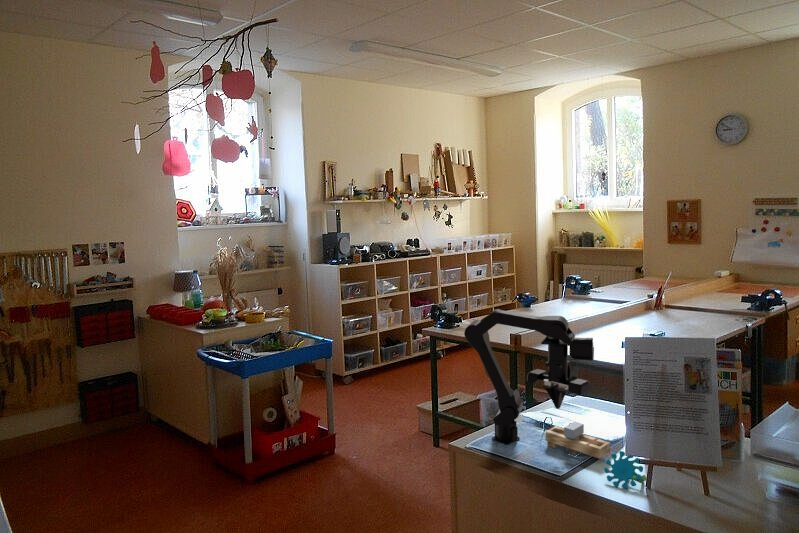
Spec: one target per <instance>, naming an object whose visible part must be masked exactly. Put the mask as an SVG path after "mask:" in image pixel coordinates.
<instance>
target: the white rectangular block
mask: <svg viewBox="0 0 799 533" xmlns="http://www.w3.org/2000/svg"><path fill="white" fill-rule="evenodd" d="M584 426H585V424H583V423H581V422H578V421H573V422H571V423H570V424H568V425H566V426H564V427H563V428H564V436H565V437H568V438H571V439H574V438H575V439H578V440H579V435H581V434H584V432H585V429H584V428H585V427H584Z"/></svg>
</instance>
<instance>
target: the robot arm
mask: <svg viewBox="0 0 799 533" xmlns="http://www.w3.org/2000/svg"><path fill="white" fill-rule="evenodd" d="M496 325H504V326H507V327H508V326H509V327H514V328H520V329H526V330H531V331H535V332H538V333H539V334H541V335H544V336H545V337H544V338H543V339H542V340H541V343H540V344H542V345H547V362H545V367H547V370H544V369H539V368H536V369H534V370H531V371H529V372H528V373H527V375H526V379H527V380H526V381H527V382H528V383H532V384H536V383H537V382H538V381H539V380H540V381H542V382H544V383H543V385H542V388H543V389H545V391H546V393H547V394H548V396H549V397H550V399H551V401H552V403H553V405H554V408H555V409H557V410H559V409H560V408H561V407H562V405H563V404H562V403H563V401H564V398H565V397H566V394H567V393H568V392H570V394H571V393H572V394H575V395H583V394H585V393H587V392H589V391H591V383H590V381H589V380H587V379H582V378H578V375H579V369H580V367H579V366H574V365H571V364H572V363H571V361H570V360H568V359H569V358H568V356H569V357H571V359H572V360H573V361H581V362H582V361H583V362H594V361H595V360H594V359H595V346H594V338H593V337H576V335H575V334H574V332H573V331H572V329H571V328H570V327H569V322H568V320H567V319H566V317H564V316H562V315H545V316H544V315H543V316H536V315H530V314H525V313H520V312H513V311H508V310H502V309H499V308H495V309H494V310H493V311H491V312H490V313H489V314H487V315H486V316H485V317H484V316H483V318H482V319H480V320H474V321H472V322H471V323H469V325H467V326H466V328H465V330H464V332H463V333H464V338H465V339H466V341H467V343H468V344H469V345H470V346H471V348H473V350H475V351H476V353H477V354H478V356H479V358H480V360H481V362H482V364H483V367H484V368H485V369H484V370H485V371H486V373H487V375H488V378H489V380H490V382H491V384H492V386H493V388H494V390H495V392H496V398H497V404H498V410H497V412H496V414H495V415H494V417H493V418H492V419H493V422H494V436H492V437H491V440H493V441H496V442H498V443H500V444H504V445H507V446H508V445H511V444H513V443H514V442H517V441H518V440H520V439H521V438H520V436H518V434H519V432H518V430H519V428H518V426H517V421H516V420H517V419H518V417H519V416H520V413H521V411H522V409H523V401H524V399H523V398H522V397H521V395H520V392H519V390H518V388H516V389H515V390H513V388H511V386H510V385H509V382H508V381H507V379H506V377H505V374H504V373H503V369H501V366H500V364H499V361H498V360H497V357H496V355H495V353H494V351H493V348H492V347H491V339H490V333H489V330H491V329H493V327H495V326H496ZM568 347H569V348H568ZM568 354H569V355H568ZM572 377H573V378H576V379H574V380H571V379H572Z"/></svg>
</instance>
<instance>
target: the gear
mask: <svg viewBox="0 0 799 533" xmlns="http://www.w3.org/2000/svg"><path fill="white" fill-rule="evenodd" d="M618 453H619V457H618V459H617V454H616V453H612V454H610V456H611V458H612V459H613V464H612V461H611V460H610V459H609V458H608V459H606V460H605V464H606V465H607V466H609V467H611V469H609V467H607V466H605V467H604V469H603V472H604V473H605V474H612V475H613V476H611V475H606V480H607V481H608V482H612V480H615V481H613V482H612V484H613V486H614V487H615V488H618V487H619V486H620V483H621V482H623V483H622V484H621V488H622V489H624V490H625V489H626V490H628V482H629V481H630V480H631V481H630V486H631V487H636V486H637V483H639V484H641V485H644V486H645V482H647V481H648V478H647V476H646V475H645V474H639V473H637V472H636V470H638V471H639V472H640V473H643V472H644V466H642V465H639V464H641V462H640V463H639V460H640V459H639V457H636V458H635V459H633V458H634V457H633V456H634V455H633V456H628V455H627V456H626V453H625V451H622V450H620V451H619V452H618ZM625 456H626V457H625ZM623 457H625V458H623ZM630 459H633V460H630ZM634 464H637V465H634ZM616 479H617V480H616Z"/></svg>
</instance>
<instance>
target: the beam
mask: <svg viewBox="0 0 799 533" xmlns="http://www.w3.org/2000/svg"><path fill="white" fill-rule="evenodd" d="M544 440H545V441H546V442H547V444H546V445H547V447H550V448H554V449H556V448H558V447H559V446H562V447H564V448H566V455H568V454H570V455H573V456H576V455H578V454H580V453H582V454H585V455H588V456H591V457H594V458H597V459H601V458H603V457H605V456H606V455H607V454H609V453H610V452H611V442H610V441H606V440H603V439H600V438H598V437H594V436H590V435H587V434H584V433H583V434H581V435H579V440H578V439H575V438H574V439H571V438H568V437H565V436H564V427H562V426H559V425H555V426H552V427H551V428H550V429H548V430H546V431H545V438H544ZM570 455H569V456H570ZM580 455H581V454H580ZM573 456H572V457H573Z"/></svg>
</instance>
